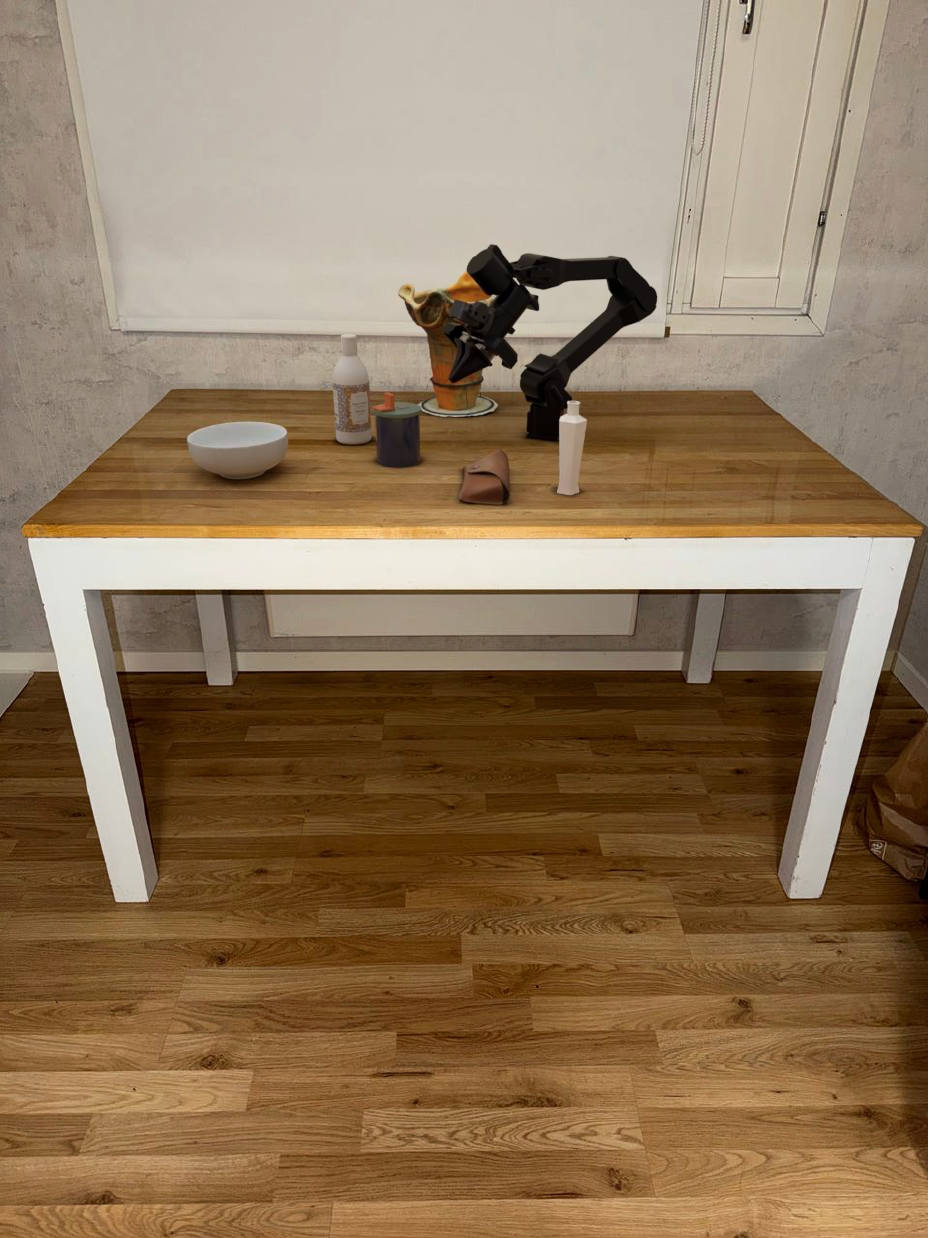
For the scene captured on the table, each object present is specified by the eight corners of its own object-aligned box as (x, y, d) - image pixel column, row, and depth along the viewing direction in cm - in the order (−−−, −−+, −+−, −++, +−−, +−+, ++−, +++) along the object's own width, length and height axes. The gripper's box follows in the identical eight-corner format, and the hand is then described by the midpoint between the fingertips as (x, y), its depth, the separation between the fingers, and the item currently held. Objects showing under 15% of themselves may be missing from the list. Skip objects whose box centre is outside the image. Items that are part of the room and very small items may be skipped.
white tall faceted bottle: (580, 496, 143) (587, 406, 136) (554, 495, 143) (559, 405, 136) (582, 487, 147) (589, 399, 140) (556, 485, 147) (561, 398, 140)
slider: (388, 406, 155) (387, 391, 154) (395, 409, 153) (394, 395, 152) (373, 408, 154) (372, 393, 152) (380, 412, 151) (379, 397, 150)
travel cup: (408, 450, 164) (407, 399, 160) (430, 463, 158) (429, 410, 153) (367, 457, 160) (365, 405, 156) (387, 470, 154) (386, 416, 149)
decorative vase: (385, 409, 191) (380, 273, 178) (454, 390, 206) (455, 265, 193) (455, 426, 179) (456, 283, 166) (523, 406, 194) (529, 273, 181)
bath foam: (346, 447, 166) (339, 339, 156) (330, 438, 171) (323, 333, 161) (377, 441, 169) (373, 336, 160) (361, 433, 174) (356, 330, 165)
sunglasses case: (460, 465, 155) (479, 434, 152) (493, 485, 156) (513, 454, 154) (457, 501, 139) (479, 467, 136) (494, 522, 141) (516, 489, 138)
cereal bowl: (291, 455, 161) (287, 418, 157) (290, 485, 146) (287, 444, 143) (197, 460, 158) (191, 421, 155) (187, 490, 144) (181, 449, 140)
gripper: (450, 276, 159) (398, 343, 160) (505, 288, 145) (448, 362, 145) (485, 317, 167) (436, 381, 167) (541, 332, 152) (487, 403, 153)
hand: (450, 381), depth 158 cm, fingers closed
